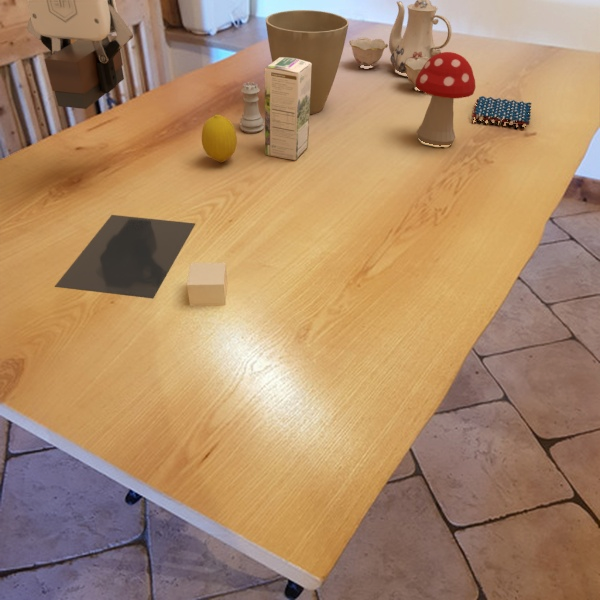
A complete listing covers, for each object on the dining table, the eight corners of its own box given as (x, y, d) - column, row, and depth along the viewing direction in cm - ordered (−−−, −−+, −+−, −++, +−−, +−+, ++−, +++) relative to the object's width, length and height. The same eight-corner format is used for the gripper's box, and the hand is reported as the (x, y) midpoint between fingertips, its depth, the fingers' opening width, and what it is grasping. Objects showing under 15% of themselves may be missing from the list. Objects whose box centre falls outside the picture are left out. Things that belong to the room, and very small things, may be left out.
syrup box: (278, 142, 96) (277, 55, 87) (309, 148, 95) (312, 60, 85) (264, 155, 92) (262, 66, 83) (297, 161, 91) (298, 71, 81)
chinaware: (335, 73, 129) (334, -5, 118) (382, 51, 137) (386, -23, 125) (430, 107, 114) (440, 22, 102) (478, 82, 121) (492, -1, 109)
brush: (87, 109, 72) (76, 61, 68) (56, 106, 72) (44, 58, 69) (125, 79, 81) (118, 35, 77) (97, 76, 81) (88, 33, 78)
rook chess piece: (238, 124, 102) (236, 80, 96) (262, 123, 102) (261, 79, 97) (241, 134, 98) (238, 89, 93) (265, 133, 99) (264, 88, 94)
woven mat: (475, 103, 112) (477, 93, 110) (529, 111, 109) (532, 101, 108) (469, 123, 104) (471, 112, 103) (527, 131, 101) (530, 120, 100)
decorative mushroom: (469, 140, 98) (490, 52, 88) (452, 157, 93) (471, 65, 83) (418, 127, 102) (432, 41, 92) (398, 143, 97) (411, 53, 87)
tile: (56, 293, 64) (53, 286, 63) (113, 220, 76) (111, 214, 75) (154, 305, 63) (153, 298, 62) (196, 229, 75) (195, 223, 74)
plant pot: (266, 122, 102) (264, 30, 92) (267, 94, 114) (266, 9, 103) (346, 123, 103) (353, 31, 93) (339, 94, 114) (344, 10, 104)
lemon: (214, 173, 87) (210, 124, 82) (198, 160, 90) (192, 112, 85) (244, 164, 90) (241, 116, 84) (227, 152, 93) (223, 105, 88)
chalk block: (190, 312, 62) (186, 284, 59) (194, 290, 65) (190, 262, 62) (226, 311, 62) (223, 284, 59) (228, 289, 65) (225, 262, 62)
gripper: (-28, -69, 63) (20, 92, 74) (112, -60, 61) (138, 103, 73) (10, -76, 68) (49, 74, 80) (138, -69, 66) (159, 84, 78)
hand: (91, 87), depth 76 cm, fingers closed on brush, 4 cm apart
